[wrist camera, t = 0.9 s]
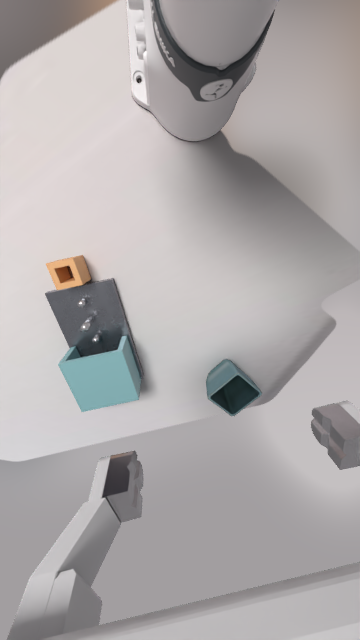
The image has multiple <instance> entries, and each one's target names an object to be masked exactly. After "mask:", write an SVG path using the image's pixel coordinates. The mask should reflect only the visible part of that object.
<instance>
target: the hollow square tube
mask: <svg viewBox="0 0 360 640" xmlns="http://www.w3.org/2000/svg"><path fill="white" fill-rule="evenodd" d="M46 266H47V268H48V270H49V273H50V275H51V277H52V280H53V282H54V284H55V287H56V289H57V290H61V289H66V288H70V287H75V286H80V285H84V284H85V283H86V282H88V281H89V280H90V279H91V277H90V274H89V271H88V269H87V266H86V263H85V260H84V258H83V255H81V256H76V257H71V258H67V259H62V260H57V261H54V262H50V263H47V264H46ZM67 266H70V268H71V271H72V273H73V276H74V277H73V278H71V276H70V273H69V271H68V268H67Z"/></svg>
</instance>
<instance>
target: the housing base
mask: <svg viewBox="0 0 360 640" xmlns="http://www.w3.org/2000/svg"><path fill="white" fill-rule="evenodd" d="M45 295H46V297H47V299H48V302H49V304H50V306H51V308H52V310H53V312H54V315H55V317H56V319H57V321H58V323H59V326H60V328H61V330H62V332H63V334H64V336H65V339H66V341H67V343H68V345H69V347H70V348H71V347H74V346H76V348H77V350H78V352H79V355H80V357H81V358H82V357H86V356H91V355H96V354H100V353H105V352H110V351H114V350H118V347H119V344H120V341H121V338H122V336H126V335H127V338H128V341H129V344H130V347H131V350H132V353H133V356H134V359H135V363H136V366H137V369H138V372H139V375H140V378H141V379H143V376H144V374H143V371H142V368H141V365H140V361H139V358H138V355H137V352H136V349H135V346H134V342H133V339H132V336H131V333H130V330H129V327H128V323H127V320H126V317H125V314H124V311H123V308H122V304H121V301H120V298H119V295H118V292H117V288H116V285H115V282H114V279H113V278H111V279H107V280H102V281H97V282H92V283H87V284H84V285H80V286H75V287H70V288H66V289H61V290H54V291H49V292H47V293H45Z"/></svg>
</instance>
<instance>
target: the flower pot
mask: <svg viewBox="0 0 360 640" xmlns="http://www.w3.org/2000/svg"><path fill="white" fill-rule="evenodd" d="M206 387H207V396H208V399H209V400H210V401H212V402H213V403H214V404H216V405H217V406H219V407H220V408H221V409H223V410H224V411H225V412H227V413H228V414H229V415H231V416H235V415H236V414H238V413H239V412H240V411H241V410H243V409H244V408H245V407H246V406H248V405H249V404H250V403H252V402H253V401H254V400H256V399H257V398H258V397H260V396H261V395H262V392H261V391H260V390H259V388H258V387H257V386H256V385H255V383H254V382H253V381H252V380H251V379H250V378H249V377H248V376H247V375H246V374H245V373H244V372H242V371H241V370H240V369H239V368H238V367H237V366H236V365H234V364H233V363H232V362H231V361H230V360H226V359H225V360H223V361H222V362H221V363H220V364H219V365H217V366H216V367H215V368H214V369H213V370H212V371H211V372H210V373H209V375H208V377H207V381H206Z"/></svg>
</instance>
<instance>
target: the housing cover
mask: <svg viewBox="0 0 360 640" xmlns="http://www.w3.org/2000/svg"><path fill="white" fill-rule="evenodd" d="M58 365H59V367H60V369H61V371H62V373H63V375H64V377H65V379H66V381H67V383H68V385H69V387H70V389H71V391H72V393H73V395H74V397H75V399H76V401H77V403H78V405H79V407H80V409H81V411H82V412H84V411H89V410H93V409H98V408H103V407H107V406H112V405H116V404H121V403H126V402H130V401H135V400H139V394H140V385H141V378H140V375H139V372H138V369H137V366H136V363H135V359H134V356H133V353H132V350H131V347H130V344H129V341H128V338H127V335H126V336H122V338H121V341H120V344H119V347H118V350H114V351H110V352H105V353H100V354H96V355H91V356H86V357H82V358H81V357H80V355H79V352H78V350H77V348H76V346H74V347H71V348H70V349H69V351H68V352H67V353H66V355H65V356H64V357H63V359H62V360H61V361H60V363H59V364H58Z"/></svg>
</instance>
